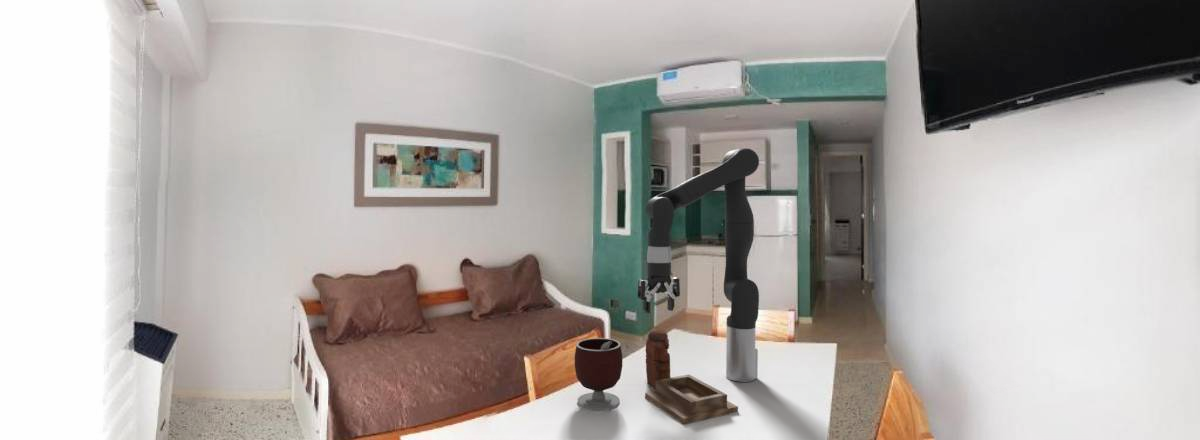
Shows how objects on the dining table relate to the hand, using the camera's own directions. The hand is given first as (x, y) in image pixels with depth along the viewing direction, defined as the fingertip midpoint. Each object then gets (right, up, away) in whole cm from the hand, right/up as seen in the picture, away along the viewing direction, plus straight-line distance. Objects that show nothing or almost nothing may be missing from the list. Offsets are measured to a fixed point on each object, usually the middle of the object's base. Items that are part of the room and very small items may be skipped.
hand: (658, 311), depth 159 cm
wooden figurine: (0, -24, +1) cm, 24 cm away
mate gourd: (-19, -24, -13) cm, 33 cm away
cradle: (+7, -24, -15) cm, 29 cm away
